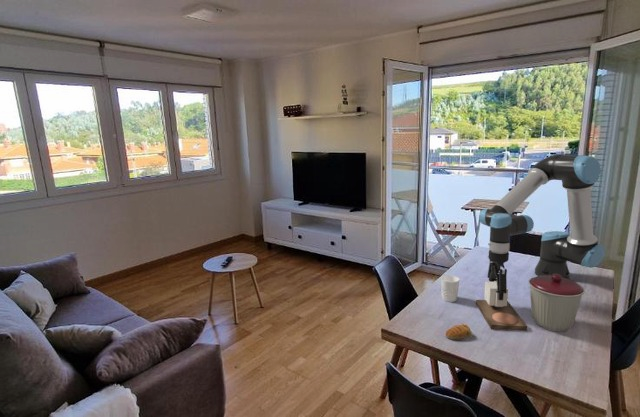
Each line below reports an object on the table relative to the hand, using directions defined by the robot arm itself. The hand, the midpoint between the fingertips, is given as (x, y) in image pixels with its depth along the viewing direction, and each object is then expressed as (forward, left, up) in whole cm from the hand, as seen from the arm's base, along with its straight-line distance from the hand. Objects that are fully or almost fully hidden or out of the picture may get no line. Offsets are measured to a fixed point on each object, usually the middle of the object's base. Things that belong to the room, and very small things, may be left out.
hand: (495, 300), depth 153 cm
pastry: (+20, +22, -4) cm, 29 cm away
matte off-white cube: (0, 0, 0) cm, 0 cm away
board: (0, +6, -4) cm, 7 cm away
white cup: (+17, -9, -4) cm, 20 cm away
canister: (-18, +11, -4) cm, 21 cm away
